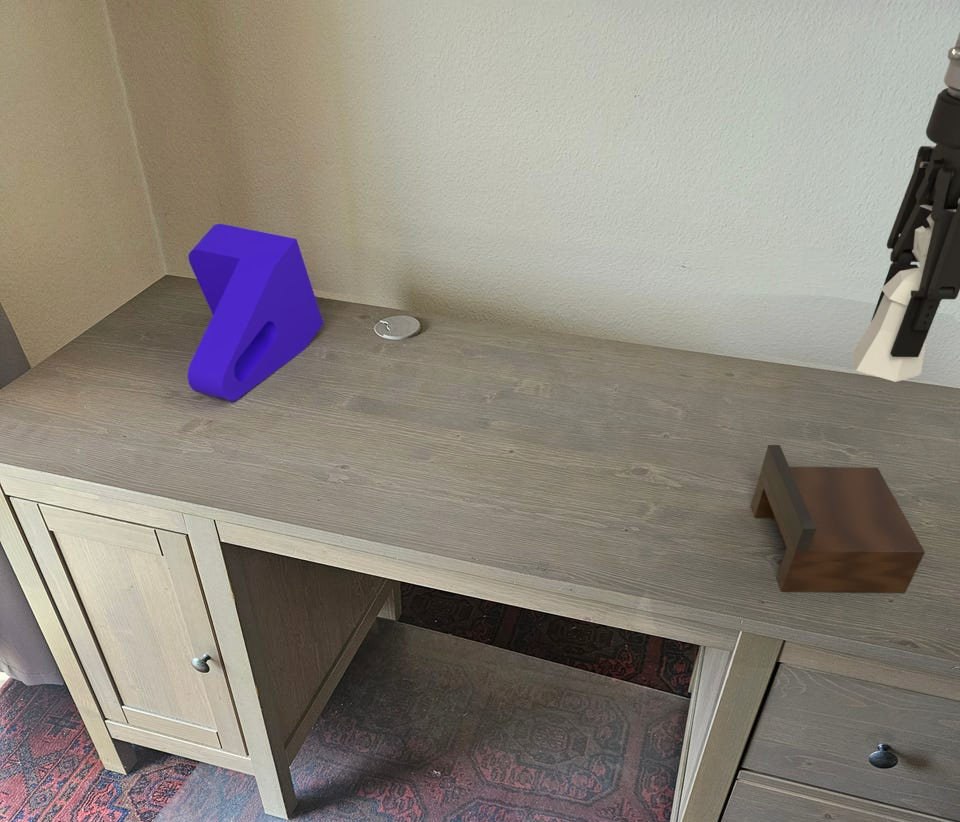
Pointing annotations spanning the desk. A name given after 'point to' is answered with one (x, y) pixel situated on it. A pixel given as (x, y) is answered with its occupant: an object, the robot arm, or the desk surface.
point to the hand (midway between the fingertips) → (893, 339)
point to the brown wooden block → (836, 528)
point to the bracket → (250, 309)
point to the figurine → (894, 319)
